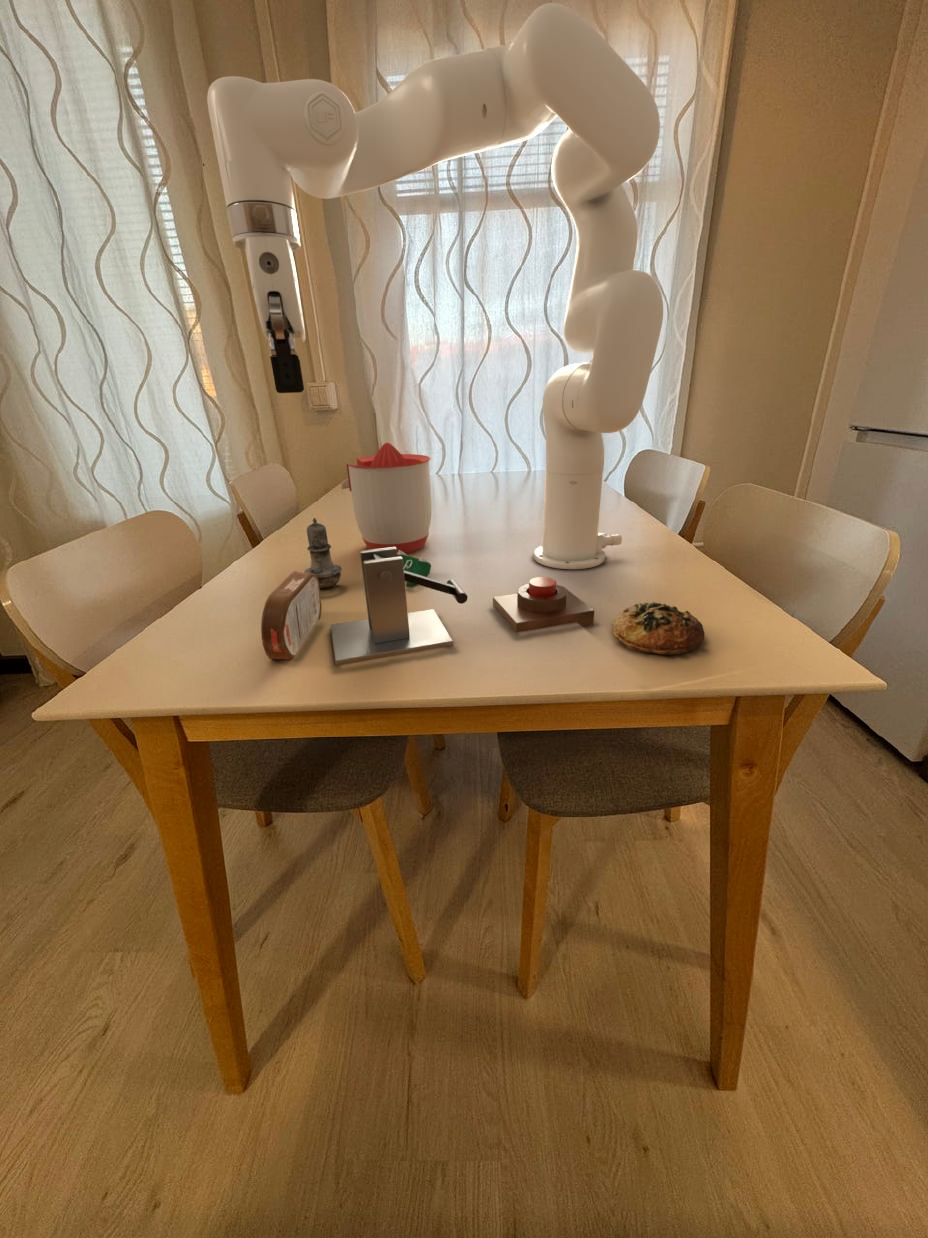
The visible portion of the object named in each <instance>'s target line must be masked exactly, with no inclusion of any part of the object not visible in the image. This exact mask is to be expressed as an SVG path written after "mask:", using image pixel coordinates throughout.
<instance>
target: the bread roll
mask: <svg viewBox="0 0 928 1238" xmlns="http://www.w3.org/2000/svg"><path fill="white" fill-rule="evenodd" d="M612 628H613V635H614V637H615V638H616V639H618V640H619V642H621V644H623V646H625V647H626V648H628V649H630V650H633V651H636V652H638V653H650V654H651V653H652V654H657V655H663V656H671V655H679V654H681V655H682V654H685V653H689V652H693V651H694V650H696V649H697V648H699V647H700V645H701V644H702V643H703V642H704V640H705V635H706V634H705V630H704V626H703V624H702V622H701V621H700V620H699V619H698V618H697V617H695V616H694V615H693V614H692V613H691V612H690V611H688V610H685V611H680V610H679V609H678V607H677V606H675V605H674V606H670V605H669V604H666V603H661V602H655V601H653V602H651V603H649V602H644V603H641V602H639V603H635V604H633V605H630V606H626V607H625V608H624V609H623V610H622V611H621V612H619V614H618V615H617V616H616V617H615V619H614V620H613V624H612Z"/></svg>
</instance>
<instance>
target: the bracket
mask: <svg viewBox="0 0 928 1238" xmlns="http://www.w3.org/2000/svg"><path fill="white" fill-rule="evenodd" d="M373 554H375V555H379V556H382V557H385V558H384V559H375V560H371V558H372V555H373ZM397 554H398V553H397V549H396V547H388V548H380V549H371V550H369V549H365V550H363V549H362V550H359V556H360V557H359V559H360V565H361V573H362V580H363V588H364V589H363V590H364V595H365V605H366V611H367V618H366V619H359V620H353V621H345V622H339V623H332V624H330V632H331V639H332V647H333V655H334V663H335V666H339V665H347V664H352V663H359V662H363V661H364V662H365V661H370V660H375V659H381V658H386V657H393V656H399V655H404V654H411V653H416V652H423V651H427V650H428V651H429V650H434V649H440V648H445V647H452V646H454V640H453V639H452V637H451V636H450V634H449V632H448V631H447V629H446V627H445V626H444V624H443V622H442V621H441V619H440V617H439V615H438V614H437V612H436V611H435V609H434V608H432V609H424V610H419V611H412V612H411V611H410V612H409V611H408V603H407V602H408V601H407V591H406V581H405V579H404V568H403V559H402V557H401V556H400V557H398V556H397Z"/></svg>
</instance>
